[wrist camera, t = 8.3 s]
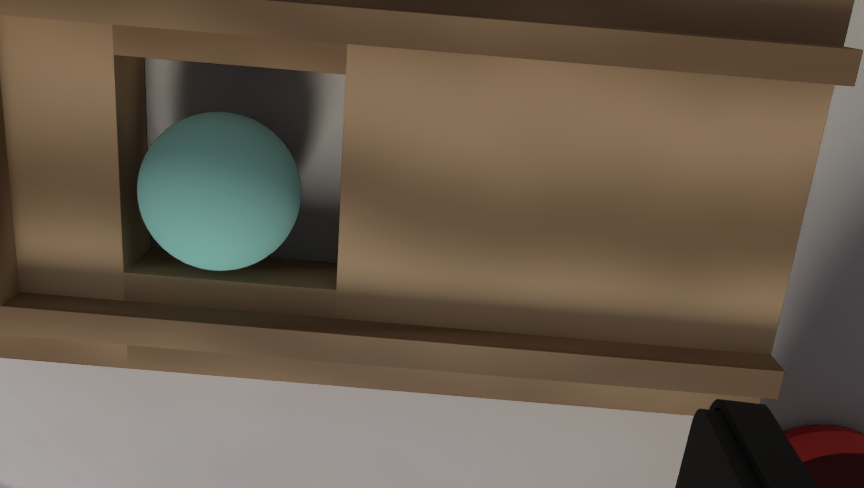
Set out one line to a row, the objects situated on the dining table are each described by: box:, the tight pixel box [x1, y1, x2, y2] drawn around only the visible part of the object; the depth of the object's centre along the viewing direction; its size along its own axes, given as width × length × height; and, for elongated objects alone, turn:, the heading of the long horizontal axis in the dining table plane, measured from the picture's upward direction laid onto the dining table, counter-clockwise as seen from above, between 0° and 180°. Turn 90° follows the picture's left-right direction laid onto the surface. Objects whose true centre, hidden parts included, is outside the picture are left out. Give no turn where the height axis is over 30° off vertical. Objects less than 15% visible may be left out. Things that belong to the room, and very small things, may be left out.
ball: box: [137, 112, 301, 271], centre depth 26 cm, size 5×5×5 cm
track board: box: [0, 0, 863, 416], centre depth 26 cm, size 14×26×4 cm, turn 86°
